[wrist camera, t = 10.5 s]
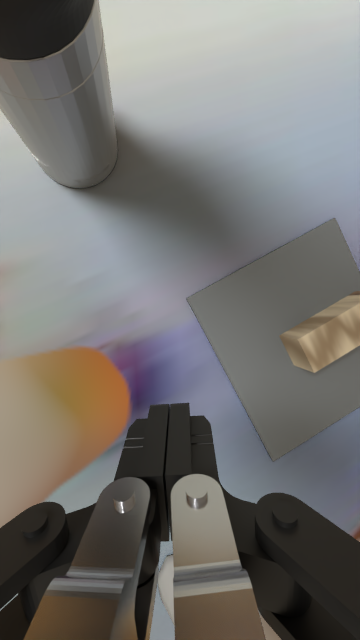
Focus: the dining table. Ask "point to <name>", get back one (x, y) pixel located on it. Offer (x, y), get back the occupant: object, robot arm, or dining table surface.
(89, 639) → the robot arm
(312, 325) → the maple block
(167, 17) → the dining table surface
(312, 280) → the rubber mat
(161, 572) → the flask
